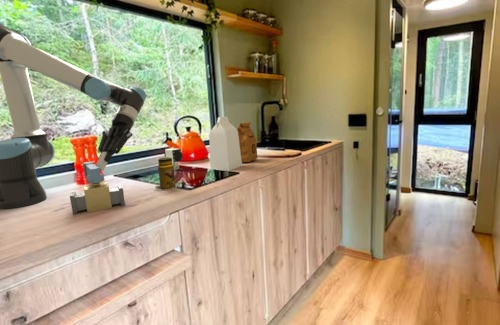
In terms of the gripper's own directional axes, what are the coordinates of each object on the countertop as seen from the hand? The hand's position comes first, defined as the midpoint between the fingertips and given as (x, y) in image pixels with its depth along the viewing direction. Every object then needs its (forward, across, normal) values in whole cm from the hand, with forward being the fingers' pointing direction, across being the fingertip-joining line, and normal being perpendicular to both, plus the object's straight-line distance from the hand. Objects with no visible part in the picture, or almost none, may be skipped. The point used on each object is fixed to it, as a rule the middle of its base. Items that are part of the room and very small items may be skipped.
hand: (99, 168), depth 107 cm
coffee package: (-43, +31, +60) cm, 80 cm away
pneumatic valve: (-27, -1, +44) cm, 52 cm away
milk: (-31, +26, +48) cm, 63 cm away
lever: (+5, +2, -2) cm, 6 cm away
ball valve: (+14, +7, +2) cm, 16 cm away
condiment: (-3, +16, +20) cm, 26 cm away
